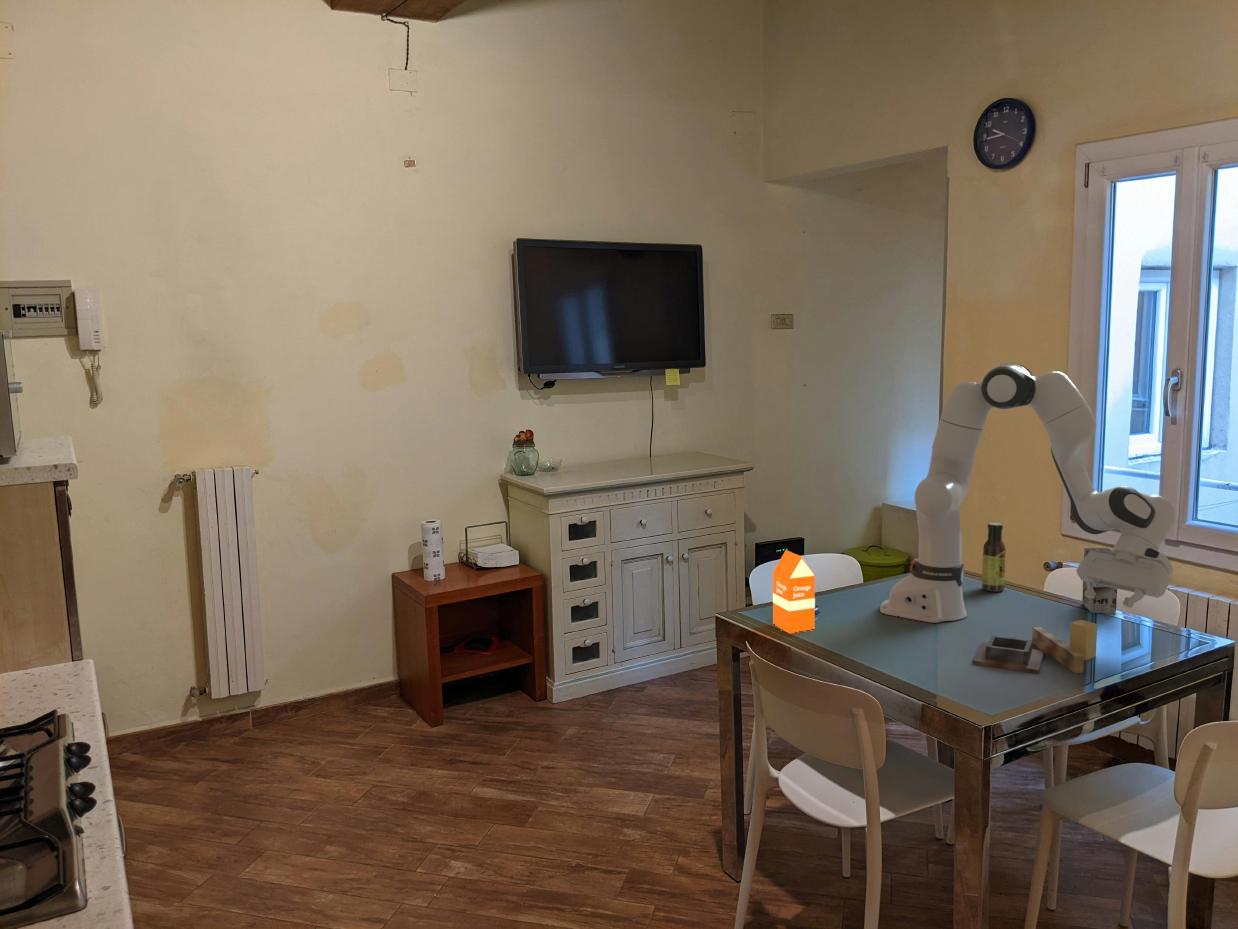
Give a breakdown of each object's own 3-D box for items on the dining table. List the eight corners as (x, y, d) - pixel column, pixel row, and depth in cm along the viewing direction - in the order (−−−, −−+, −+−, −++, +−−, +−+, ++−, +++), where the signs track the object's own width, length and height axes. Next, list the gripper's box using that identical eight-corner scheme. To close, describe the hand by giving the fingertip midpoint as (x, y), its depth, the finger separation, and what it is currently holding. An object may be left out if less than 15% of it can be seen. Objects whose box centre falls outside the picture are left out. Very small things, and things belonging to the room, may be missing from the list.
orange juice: (788, 633, 235) (788, 558, 233) (772, 623, 244) (772, 551, 241) (815, 629, 238) (815, 555, 235) (798, 620, 246) (798, 548, 243)
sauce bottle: (1003, 593, 265) (1005, 526, 262) (980, 591, 268) (982, 525, 265) (1005, 588, 270) (1007, 522, 268) (983, 585, 274) (985, 521, 271)
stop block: (1069, 655, 214) (1070, 622, 213) (1079, 652, 216) (1081, 619, 215) (1085, 660, 211) (1086, 627, 210) (1095, 657, 213) (1097, 624, 212)
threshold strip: (1031, 643, 223) (1032, 627, 223) (1040, 642, 223) (1040, 627, 223) (1074, 672, 203) (1075, 655, 203) (1083, 672, 203) (1084, 655, 203)
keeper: (972, 664, 211) (972, 648, 210) (981, 645, 223) (981, 630, 222) (1038, 673, 204) (1039, 657, 203) (1044, 653, 216) (1044, 638, 215)
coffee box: (1117, 614, 244) (1120, 555, 241) (1091, 613, 245) (1093, 555, 243) (1106, 604, 252) (1108, 547, 250) (1081, 603, 254) (1083, 547, 251)
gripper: (1087, 539, 227) (1061, 584, 224) (1171, 555, 210) (1144, 603, 206) (1096, 554, 230) (1071, 598, 227) (1180, 571, 213) (1155, 619, 209)
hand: (1107, 601), depth 216 cm, fingers open, 8 cm apart
